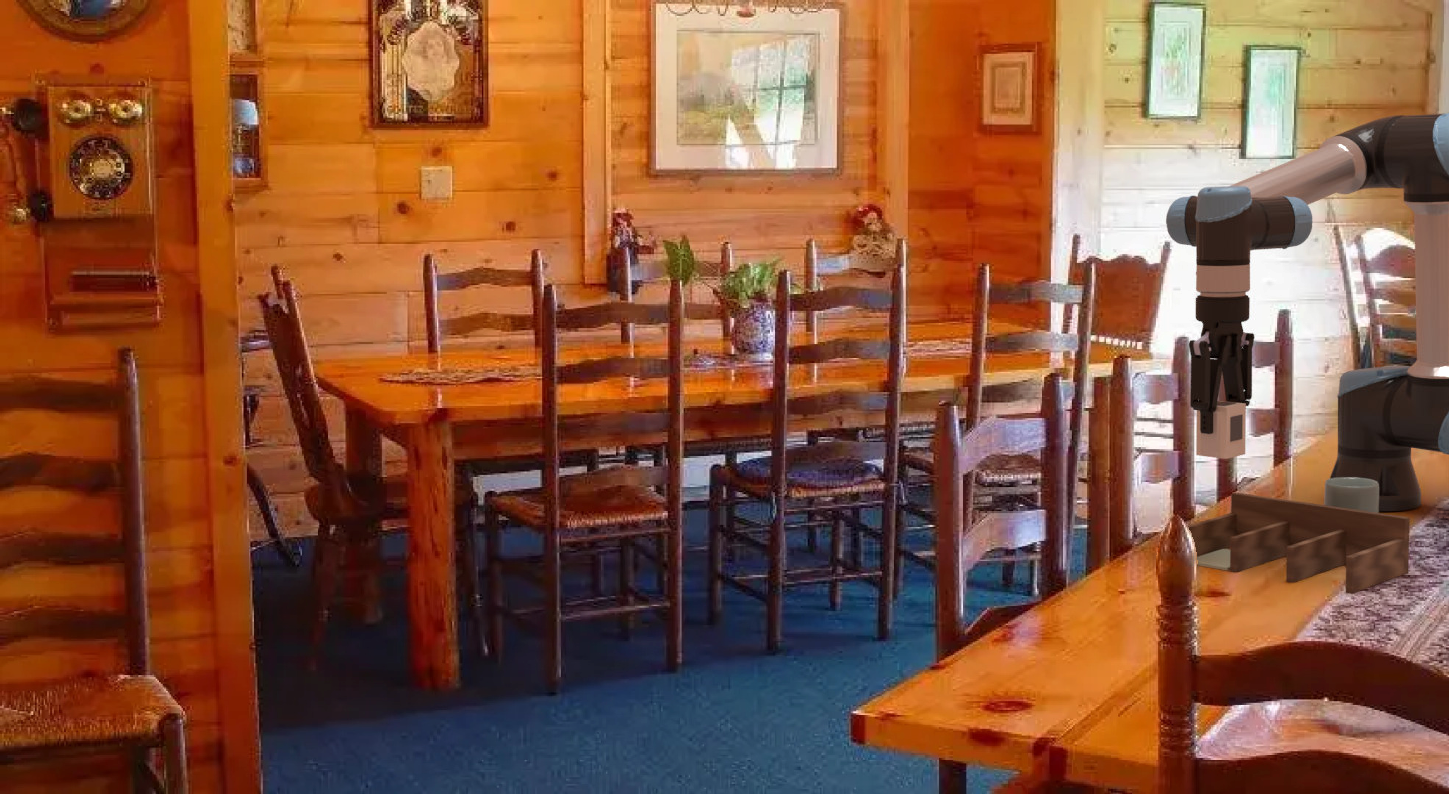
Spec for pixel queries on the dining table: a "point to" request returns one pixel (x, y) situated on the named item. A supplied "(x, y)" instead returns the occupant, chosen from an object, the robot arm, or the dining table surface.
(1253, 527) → the cubby
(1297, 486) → the dining table surface
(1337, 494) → the cup
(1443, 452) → the robot arm
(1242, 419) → the white upright rectangular block
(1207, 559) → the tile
